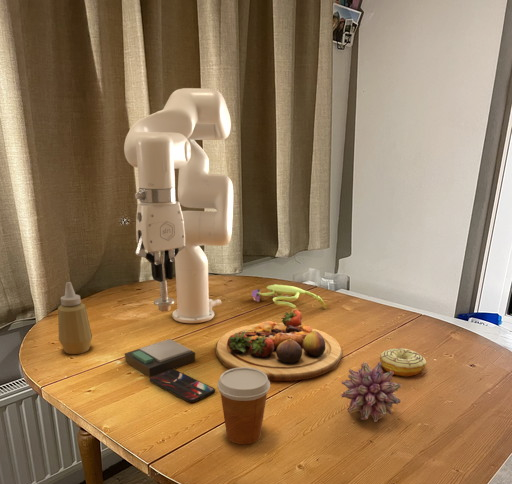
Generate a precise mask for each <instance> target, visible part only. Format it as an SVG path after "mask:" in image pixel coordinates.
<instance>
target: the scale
mask: <svg viewBox="0 0 512 484" xmlns="http://www.w3.org/2000/svg"><path fill="white" fill-rule="evenodd" d="M124 361H125V363H126V364H128V365H129V366H131V367H133V368H134V369H135V370H137V371H139V372H140V373H141V374H143V375H145V376H146V377H148V378H151V377H153V376H156V375H158V374H160V373H163V372H165V371H168V370H170V369H175V370H176V369H178V368H180V367H181V368H182V367H184V366H186V365H189V364H191V363H194V362H196V352H195V351H193V350H192V349H191V348H189V347H186V345H183V344H181V343H179V342H177V341H175V340H174V339H171V338H168V339H165V340H162V341H157V342H155V343H152V344H149V345H146V346H145V345H144V346H143V347H140V348H136V349H134V350H131V351H128V352H124Z"/></svg>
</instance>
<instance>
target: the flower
mask: <svg viewBox="0 0 512 484" xmlns="http://www.w3.org/2000/svg"><path fill="white" fill-rule="evenodd" d="M381 364H382V363H381V362H380V361H379V362H377V365H375V367H373V369H372V368H371V366H370V365H368V361H364V362H362V363H361V364H360V367H361V368H359V369H357V371H355V370H354V369H352V368H349V369H348V373H349V374H348V375H347V378H348V379H345V380H341V382H340V383H341V385H344V386H345V387H346V388H347V390H345V391H343V392H342V393H341V394H340V396H341V398H346V399H349V400H350V402H349V406H348V407H347V409H346V411H347V412H348V413H349V414H351V413H353V412H355V411H356V412H357V411H359V412H360V420H363V421H365V420H366V421H367V419H369V417H370V416H371V418H373V421H374V423H375V422H378V420H380V419H382V418H383V417H385V416H387V414H390V415H394V412H393V411H392V409H391V408H393V407H394V405H398V404H401V402H402V399H400V398H398V396H396V394H394V393H395V392H398V390H399V389H400V388H403V386H402V383H397V382H393V381H392V378H393V375H395V374H394V372H393V371H390V372H388V371H386V372H383V369H382V365H381ZM382 416H383V417H382Z"/></svg>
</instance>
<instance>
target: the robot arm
mask: <svg viewBox="0 0 512 484" xmlns="http://www.w3.org/2000/svg"><path fill="white" fill-rule="evenodd" d="M231 129H232V121H231V115H230V112H229V109H228V106H227V103H226V100H225V98H224V96H223V94H222V93H221V92H220V91H219V90H218V89H215V88H211V87H210V88H209V87H208V88H206V87H205V88H204V87H199V88H197V87H196V88H194V87H183V88H178V89H176V90H174V91H173V92H172V93H171V94H170V95H169V97H168V99H167V101H166V103H165V104H164V106H163V108H162V109H161V110H158V111H155V112H154V113H151V114H148V115H146V116H144V117H141V118H140V119H137V120H136V121H135V122H134V123H133V124H132V125H131V127H130V129H129V131H128V133H126V136H125V140H124V145H123V152H124V157H125V159H126V161H127V163H128V164H129V165H130V166H132V167H134V168H137V179H138V191H137V192H134V199H135V200H139V203H137V206H136V218H135V239H136V245H137V247H136V249H135V256H137V257H141V258H143V259H146V260H147V261H148V263H149V264H150V268H151V270H150V271H151V276H152V279H153V280H154V281H157V282H159V283H160V282H162V281H163V270H162V264H160V258H159V256H160V252H162V256H164V257H165V266H166V267H165V268H166V271H167V272H166V274H167V275H166V276H167V280H170V281H171V280H173V279H174V275H173V274H174V271H175V284H176V285H175V288H176V309H175V310H174V311H173V312H172V314H171V315H172V319H173V320H174V321H176V322H179V323H183V324H199V323H200V324H201V323H206V322H209V321H211V320H212V319H214V317H215V311H214V310H213V308H215V307H218V306H221V305H222V300H221V299H220V298H218V299H214V300H213V299H212V298H209V297H210V293H209V261H208V257H207V255H206V253H205V251H204V250H203V249H202V248H201V246H215V247H216V246H217V247H220V246H222V247H223V246H226V245H228V244H229V243H230V242H231V240H232V236H233V216H234V184H233V182H232V179H231V178H230V177H229V176H228V175H226V174H215V173H213V174H212V173H211V174H210V173H209V171H210V170H209V169H210V159H209V156H208V155H207V153H206V152H205V150H204V149H203V147H201V146H200V145H199V143H197V141H223V140H226V139H227V138H229V136H230V133H231ZM176 169H177V170H178V181H177V196H176V176H175V170H176ZM177 200H178V201H177ZM181 206H182V207H185V208H187V209H213V210H216V211H212V210H211V211H210V210H209V211H208V210H206V211H205V210H182V207H181ZM174 269H175V270H174Z"/></svg>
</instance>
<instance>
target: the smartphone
mask: <svg viewBox="0 0 512 484" xmlns="http://www.w3.org/2000/svg"><path fill="white" fill-rule="evenodd" d="M149 382H150V383H152V384H154V385H156V386H158V387H159V388H162V389H164V390H165V391H167V392H170V393H171V394H173V395H175V396H177V397H179V398H181V399H183V400H185V401H187V402H188V403H195V402H197V401H200V400H202V399H204V398H206V397H207V396H210V395H211V394H214V393H215V392H216V391H215V389H216V388H214V387H213V386H210V385H208V384H206V383H204V382H202V381H200V380H197V379H195V378H194V377H191V376H190V375H188V374H185V373H183V372H181V371H179V370H177V369H176V368H175V369H170V370H168V371H165V372H163V373H160V374H158V375H156V376H153V377H149Z"/></svg>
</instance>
